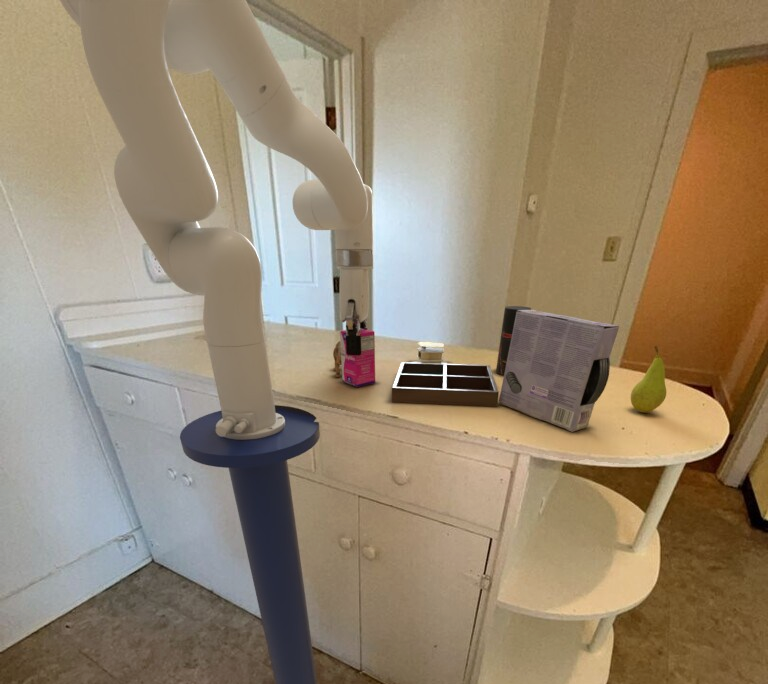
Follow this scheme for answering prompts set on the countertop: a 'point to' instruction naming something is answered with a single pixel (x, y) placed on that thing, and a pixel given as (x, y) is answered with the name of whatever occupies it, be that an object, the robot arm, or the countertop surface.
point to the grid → (445, 384)
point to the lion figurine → (337, 358)
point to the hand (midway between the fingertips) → (357, 350)
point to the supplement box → (359, 360)
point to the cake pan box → (557, 367)
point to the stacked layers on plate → (430, 353)
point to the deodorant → (507, 336)
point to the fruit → (650, 387)
